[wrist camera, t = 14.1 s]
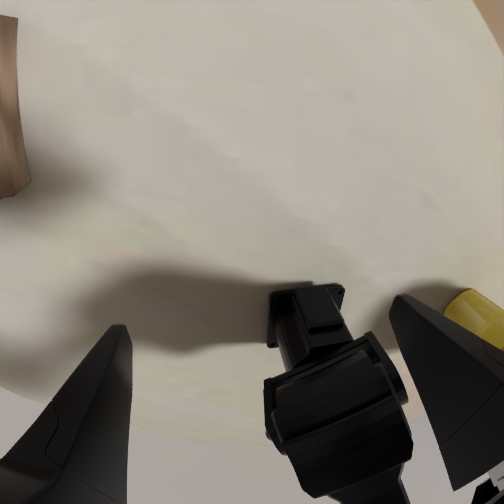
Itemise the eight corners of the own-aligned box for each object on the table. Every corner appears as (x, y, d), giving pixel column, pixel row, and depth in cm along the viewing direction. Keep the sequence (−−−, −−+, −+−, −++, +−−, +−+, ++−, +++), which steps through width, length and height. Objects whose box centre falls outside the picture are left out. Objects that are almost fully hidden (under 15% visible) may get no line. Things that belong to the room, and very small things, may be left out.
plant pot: (415, 345, 34) (450, 403, 25) (448, 280, 28) (500, 341, 20) (464, 331, 35) (498, 378, 27) (495, 273, 30) (541, 321, 22)
